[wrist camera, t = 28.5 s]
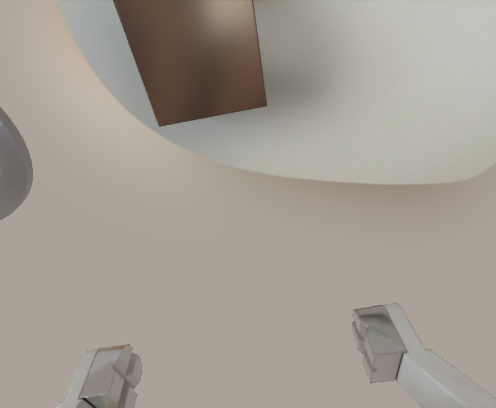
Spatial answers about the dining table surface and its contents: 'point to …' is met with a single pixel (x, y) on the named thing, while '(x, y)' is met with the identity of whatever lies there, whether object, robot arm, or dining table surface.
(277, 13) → the dining table surface
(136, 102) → the dining table surface
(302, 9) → the dining table surface
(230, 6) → the brown wooden stool
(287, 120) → the dining table surface
